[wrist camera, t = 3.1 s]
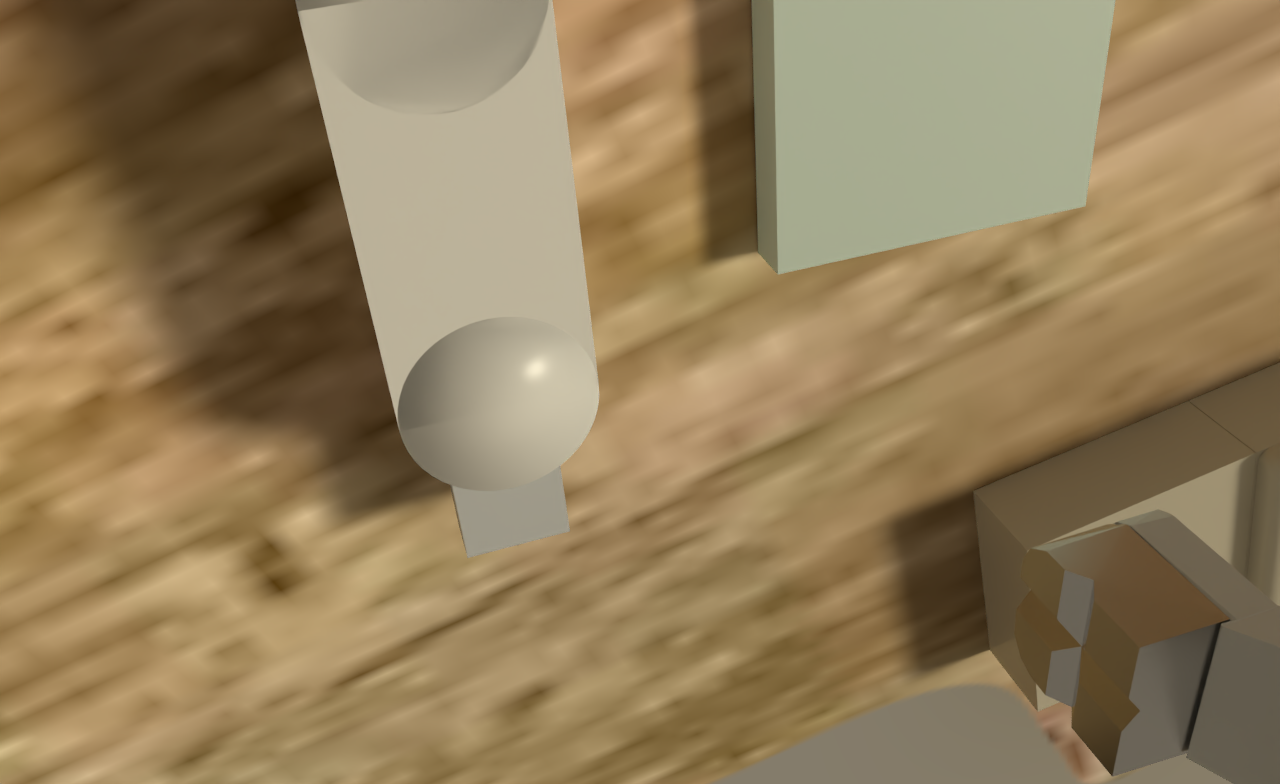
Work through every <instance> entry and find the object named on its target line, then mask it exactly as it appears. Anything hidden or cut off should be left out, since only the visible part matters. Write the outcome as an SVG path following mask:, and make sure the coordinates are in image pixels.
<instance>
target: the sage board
mask: <svg viewBox="0 0 1280 784" xmlns="http://www.w3.org/2000/svg"><path fill="white" fill-rule="evenodd" d="M751 1H752V39H753V77H754V115H755V153H756V190H757V228H758V253H759V254H760V255H761V256H762V257H763V259H764V260H765V261H766V262H767V263H768V264H769V265H770V266H771V267H772V268H773V270H774V271H775V272H776V273H777V274H782V273H787V272H791V271H796V270H800V269H805V268H809V267H814V266H818V265H823V264H827V263H832V262H836V261H841V260H845V259H850V258H854V257H859V256H863V255H868V254H872V253H877V252H881V251H886V250H890V249H895V248H899V247H904V246H908V245H913V244H917V243H922V242H926V241H931V240H935V239H940V238H944V237H949V236H953V235H958V234H962V233H967V232H971V231H976V230H980V229H985V228H989V227H994V226H998V225H1003V224H1007V223H1012V222H1016V221H1021V220H1025V219H1030V218H1034V217H1039V216H1043V215H1048V214H1052V213H1057V212H1061V211H1066V210H1071V209H1075V208H1080V207H1084V206H1085V205H1086V198H1087V192H1088V185H1089V178H1090V171H1091V164H1092V157H1093V150H1094V144H1095V137H1096V130H1097V123H1098V116H1099V109H1100V102H1101V96H1102V89H1103V82H1104V75H1105V68H1106V61H1107V54H1108V48H1109V41H1110V34H1111V27H1112V20H1113V13H1114V6H1115V0H751Z"/></svg>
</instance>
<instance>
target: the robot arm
mask: <svg viewBox="0 0 1280 784" xmlns="http://www.w3.org/2000/svg"><path fill="white" fill-rule="evenodd" d="M1020 578H1021V579H1022V580H1023V581H1024V582H1025V584H1026V585H1027V586H1028V587H1029V588H1030V589H1031V590H1030V591H1029V593H1028V594H1027V595H1026V597H1025V598H1024V599H1023V601H1022V602H1021V604H1020V605H1019V606H1018V608H1017V609H1016V617H1015V630H1014V634H1015V638H1016V642H1017V646H1018V649H1019V653H1020V657H1021V659H1022V661H1023V663H1024V665H1025V667H1026V669H1027V671H1028V673H1029V674H1030V676H1031V678H1032V679H1033V680H1034V682H1035V683H1036V684H1037V685H1038V687H1039V688H1040V689H1041V690H1042V692H1043V693H1044V694H1045V695H1046V696H1048V697H1050V698H1053V699H1055V700H1057V701H1060V702H1062V703H1064V704H1066V705H1069V706H1071V707H1072V728H1073V730H1074V731H1075V732H1076V733H1077V735H1078V736H1079V737H1080V738H1081V739H1082V741H1083V742H1084V743H1085V744H1086V745H1087V747H1088V748H1089V749H1090V750H1091V751H1092V753H1093V754H1094V755H1095V756H1096V757H1097V759H1098V760H1099V761H1100V762H1101V763H1102V765H1103V766H1104V767H1105V768H1106V769H1107V771H1108V772H1109V773H1110V774H1111V776H1116V775H1119V774H1122V773H1125V772H1128V771H1131V770H1135V769H1138V768H1141V767H1144V766H1147V765H1150V764H1154V763H1157V762H1160V761H1163V760H1166V759H1169V758H1173V757H1176V756H1179V755H1182V754H1185V753H1187V756H1186V758H1188V759H1190V760H1192V761H1193V762H1195V763H1197V764H1199V765H1201V766H1202V767H1204V768H1206V769H1208V770H1210V771H1212V772H1213V773H1215V774H1217V775H1219V776H1220V777H1222V778H1224V779H1226V780H1228V781H1230V782H1231V783H1233V784H1280V605H1279V606H1278V605H1277V604H1275V603H1274V602H1273V601H1272V600H1271V599H1270V598H1268V597H1267V596H1266V595H1265V594H1264V593H1263V592H1261V591H1260V590H1259V589H1258V588H1257V587H1256V586H1254V585H1253V584H1252V583H1251V582H1250V581H1249V580H1248V579H1246V578H1245V577H1244V576H1243V575H1242V574H1241V573H1239V572H1238V571H1237V570H1236V569H1235V568H1234V567H1232V566H1231V565H1230V564H1229V563H1228V562H1227V561H1225V560H1224V559H1223V558H1222V557H1221V556H1220V555H1219V554H1217V553H1216V552H1215V551H1214V550H1213V549H1212V548H1210V547H1209V546H1208V545H1207V544H1206V543H1205V542H1203V541H1202V540H1201V539H1200V538H1199V537H1198V536H1196V535H1195V534H1194V533H1193V532H1192V531H1191V530H1190V529H1188V528H1187V527H1186V526H1185V525H1184V524H1183V523H1181V522H1180V521H1179V520H1178V519H1177V518H1176V517H1174V516H1173V515H1171V514H1170V513H1167V512H1164V511H1162V510H1159V509H1157V510H1154V511H1151V512H1148V513H1144V514H1141V515H1138V516H1134V517H1131V518H1128V519H1124V520H1121V521H1118V522H1115V523H1114V524H1107V525H1103V526H1100V527H1097V528H1094V529H1091V530H1087V531H1084V532H1081V533H1078V534H1074V535H1071V536H1068V537H1065V538H1062V539H1058V540H1055V541H1052V542H1049V543H1045V544H1042V545H1039V546H1036V547H1033V548H1030V549H1029V551H1028V552H1027V554H1026V555H1025V557H1024V558H1023V561H1022V568H1021V575H1020Z"/></svg>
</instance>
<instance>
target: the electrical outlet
mask: <svg viewBox="0 0 1280 784" xmlns="http://www.w3.org/2000/svg"><path fill="white" fill-rule="evenodd" d="M973 494H974V504H975V513H976V523H977V532H978V542H979V552H980V561H981V571H982V580H983V590H984V600H985V609H986V619H987V628H988V638H989V647H990V651H991V652H992V653H993V655H994V656H995V657H996V658H997V660H998V661H999V662H1000V664H1001V665H1002V666H1003V667H1004V669H1005V670H1006V671H1007V673H1008V674H1009V675H1010V676H1011V678H1012V679H1013V680H1014V682H1015V683H1016V684H1017V685H1018V687H1019V688H1020V689H1021V691H1022V692H1023V693H1024V694H1025V696H1026V697H1027V698H1028V700H1029V701H1030V702H1031V704H1032V705H1033V706H1034V707H1035V709H1036V710H1037V711H1041V710H1043V709H1045V708H1047V707H1050V706H1052V705H1054V704H1056V703H1059V702H1060V701H1057V700H1055V699H1053V698H1050V697H1048V696H1046V695H1045V694H1044V693H1043V692H1042V690H1041V689H1040V688H1039V687H1038V685H1037V684H1036V683H1035V682H1034V680H1033V679H1032V678H1031V676H1030V674H1029V673H1028V671H1027V669H1026V667H1025V665H1024V663H1023V661H1022V659H1021V657H1020V653H1019V649H1018V646H1017V642H1016V638H1015V634H1014V630H1015V617H1016V609H1017V608H1018V606H1019V605H1020V604H1021V602H1022V601H1023V599H1024V598H1025V597H1026V595H1027V594H1028V593H1029V591H1030V590H1031V589H1030V588H1029V587H1028V586H1027V585H1026V584H1025V582H1024V581H1023V580H1022V579H1021V578H1020V575H1021V568H1022V561H1023V558H1024V557H1025V555H1026V554H1027V552H1028V551H1029V549H1030V548H1033V547H1036V546H1039V545H1042V544H1045V543H1049V542H1052V541H1055V540H1058V539H1062V538H1065V537H1068V536H1071V535H1074V534H1078V533H1081V532H1084V531H1087V530H1091V529H1094V528H1097V527H1100V526H1103V525H1107V524H1114V523H1115V522H1118V521H1121V520H1124V519H1128V518H1131V517H1134V516H1138V515H1141V514H1144V513H1148V512H1151V511H1154V510H1157V509H1159V510H1162V511H1164V512H1167V513H1170V514H1171V515H1173V516H1174V517H1176V518H1177V519H1178V520H1179V521H1180V522H1181V523H1183V524H1184V525H1185V526H1186V527H1187V528H1188V529H1190V530H1191V531H1192V532H1193V533H1194V534H1195V535H1196V536H1198V537H1199V538H1200V539H1201V540H1202V541H1203V542H1205V543H1206V544H1207V545H1208V546H1209V547H1210V548H1212V549H1213V550H1214V551H1215V552H1216V553H1217V554H1219V555H1220V556H1221V557H1222V558H1223V559H1224V560H1225V561H1227V562H1228V563H1229V564H1230V565H1231V566H1232V567H1234V568H1235V569H1236V570H1237V571H1238V572H1239V573H1241V574H1242V575H1243V576H1244V577H1245V578H1246V579H1248V580H1249V581H1250V582H1251V583H1252V584H1253V585H1254V586H1256V587H1257V588H1258V589H1259V590H1260V591H1261V592H1263V593H1264V594H1265V595H1266V596H1267V597H1268V598H1270V599H1271V600H1272V601H1273V602H1274V603H1275V604H1277V605H1278V606H1279V605H1280V363H1277V364H1275V365H1273V366H1270V367H1268V368H1265V369H1263V370H1261V371H1258V372H1256V373H1253V374H1251V375H1249V376H1246V377H1244V378H1242V379H1239V380H1237V381H1234V382H1232V383H1230V384H1227V385H1225V386H1222V387H1220V388H1218V389H1215V390H1213V391H1210V392H1208V393H1206V394H1203V395H1201V396H1199V397H1196V398H1194V399H1191V400H1189V401H1187V402H1184V403H1182V404H1179V405H1177V406H1175V407H1172V408H1170V409H1168V410H1165V411H1163V412H1160V413H1158V414H1156V415H1153V416H1151V417H1148V418H1146V419H1144V420H1141V421H1139V422H1137V423H1134V424H1132V425H1129V426H1127V427H1125V428H1122V429H1120V430H1117V431H1115V432H1113V433H1110V434H1108V435H1106V436H1103V437H1101V438H1098V439H1096V440H1094V441H1091V442H1089V443H1086V444H1084V445H1082V446H1079V447H1077V448H1074V449H1072V450H1070V451H1067V452H1065V453H1063V454H1060V455H1058V456H1055V457H1053V458H1051V459H1048V460H1046V461H1043V462H1041V463H1039V464H1036V465H1034V466H1032V467H1029V468H1027V469H1024V470H1022V471H1020V472H1017V473H1015V474H1012V475H1010V476H1008V477H1005V478H1003V479H1001V480H998V481H996V482H993V483H991V484H989V485H986V486H984V487H981V488H979V489H977V490H974V491H973Z"/></svg>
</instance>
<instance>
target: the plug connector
mask: <svg viewBox="0 0 1280 784" xmlns="http://www.w3.org/2000/svg"><path fill="white" fill-rule="evenodd" d="M295 1H296V6H297V11H298V15H299V19H300V23H301V27H302V31H303V36H304V40H305V44H306V48H307V52H308V56H309V60H310V64H311V69H312V73H313V77H314V81H315V85H316V89H317V93H318V97H319V102H320V106H321V110H322V114H323V118H324V122H325V126H326V130H327V135H328V139H329V143H330V147H331V151H332V155H333V159H334V163H335V168H336V172H337V176H338V180H339V184H340V188H341V192H342V196H343V201H344V205H345V209H346V213H347V217H348V221H349V225H350V229H351V234H352V238H353V242H354V246H355V250H356V254H357V258H358V262H359V266H360V271H361V275H362V279H363V283H364V287H365V291H366V295H367V299H368V304H369V308H370V312H371V316H372V320H373V324H374V328H375V332H376V337H377V341H378V345H379V349H380V353H381V357H382V361H383V365H384V370H385V374H386V378H387V382H388V386H389V390H390V394H391V398H392V403H393V407H394V411H395V415H396V419H397V423H398V427H399V431H400V434H401V437H402V441H403V443H404V445H405V447H406V449H407V451H408V453H409V454H410V455H411V457H412V458H413V459H414V461H415V462H416V463H417V464H418V465H419V466H420V467H421V468H422V469H423V470H425V471H426V472H427V473H429V474H430V475H431V476H433V477H435V478H437V479H438V480H440V481H442V482H444V483H447V484H450V487H451V492H452V496H453V501H454V505H455V510H456V514H457V519H458V524H459V528H460V531H461V535H462V539H463V542H464V546H465V550H466V553H467V557H468V558H469V557H473V556H477V555H480V554H484V553H488V552H492V551H496V550H500V549H504V548H507V547H511V546H515V545H519V544H523V543H527V542H530V541H534V540H538V539H542V538H546V537H550V536H553V535H557V534H561V533H565V532H569V531H570V528H569V522H568V515H567V508H566V502H565V495H564V488H563V482H562V475H561V468H560V465H562V464H563V463H564V462H565V461H566V460H567V459H569V458H570V457H571V456H572V455H573V453H574V452H575V451H576V450H577V449H578V448H579V447H580V445H581V444H582V442H583V441H584V440H585V438H586V436H587V435H588V433H589V431H590V429H591V427H592V425H593V422H594V420H595V417H596V413H597V409H598V402H599V383H598V375H597V366H596V358H595V350H594V342H593V333H592V325H591V317H590V308H589V300H588V292H587V284H586V275H585V267H584V259H583V250H582V242H581V234H580V226H579V217H578V209H577V201H576V192H575V184H574V176H573V168H572V159H571V151H570V143H569V134H568V126H567V118H566V110H565V101H564V93H563V85H562V76H561V68H560V60H559V52H558V43H557V35H556V27H555V18H554V10H553V2H552V0H295Z"/></svg>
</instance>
